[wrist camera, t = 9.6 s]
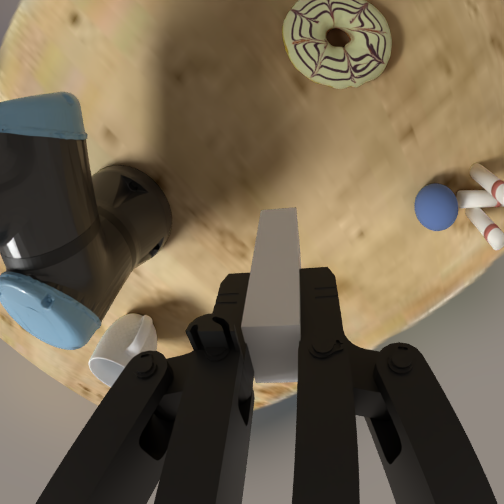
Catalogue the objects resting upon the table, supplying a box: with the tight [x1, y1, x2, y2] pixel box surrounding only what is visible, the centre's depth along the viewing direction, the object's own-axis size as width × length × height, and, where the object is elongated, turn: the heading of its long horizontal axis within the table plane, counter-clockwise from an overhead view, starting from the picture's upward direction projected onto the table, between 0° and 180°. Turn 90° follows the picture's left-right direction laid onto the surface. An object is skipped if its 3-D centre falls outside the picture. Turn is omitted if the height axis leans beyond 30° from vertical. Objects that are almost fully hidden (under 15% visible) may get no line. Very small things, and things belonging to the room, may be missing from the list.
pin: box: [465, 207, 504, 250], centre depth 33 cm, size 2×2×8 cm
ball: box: [415, 183, 458, 231], centre depth 34 cm, size 6×6×6 cm
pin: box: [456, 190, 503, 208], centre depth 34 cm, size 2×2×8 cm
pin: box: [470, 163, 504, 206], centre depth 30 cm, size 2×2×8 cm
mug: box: [89, 313, 157, 387], centre depth 52 cm, size 15×11×13 cm
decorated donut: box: [282, 0, 392, 89], centre depth 26 cm, size 11×12×4 cm
